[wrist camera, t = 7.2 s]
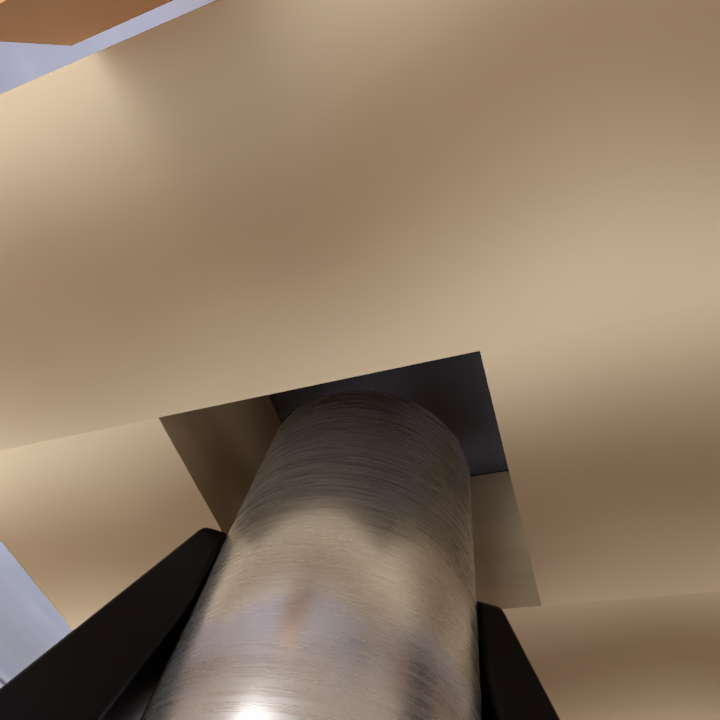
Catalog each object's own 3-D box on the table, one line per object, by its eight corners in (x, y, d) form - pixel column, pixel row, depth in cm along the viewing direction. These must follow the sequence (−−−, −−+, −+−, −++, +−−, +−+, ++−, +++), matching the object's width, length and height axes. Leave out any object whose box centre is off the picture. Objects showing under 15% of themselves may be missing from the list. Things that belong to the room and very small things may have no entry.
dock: (749, 590, 14) (845, 754, 11) (227, 632, 19) (177, 760, 15) (747, -157, 8) (985, -337, 4) (-60, 169, 12) (-265, 210, 9)
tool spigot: (514, 484, 10) (651, 1362, 3) (372, 575, 12) (267, 1273, 5) (360, 349, 9) (105, 1162, 2) (231, 467, 11) (-133, 1138, 4)
